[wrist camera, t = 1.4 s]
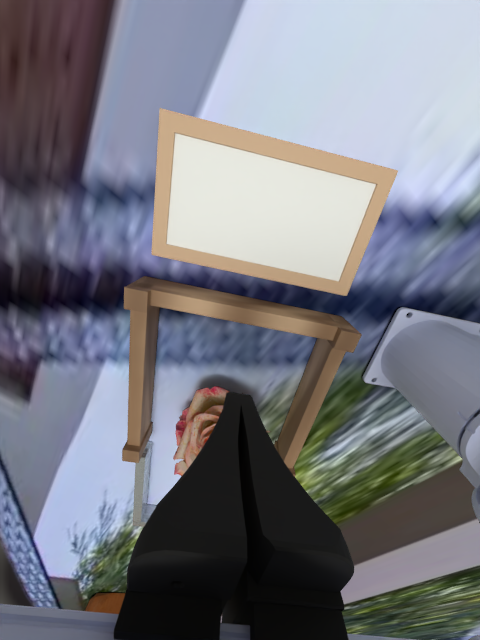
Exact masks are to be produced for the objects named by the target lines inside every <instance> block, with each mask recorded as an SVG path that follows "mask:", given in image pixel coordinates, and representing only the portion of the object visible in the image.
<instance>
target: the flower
mask: <svg viewBox="0 0 480 640" xmlns="http://www.w3.org/2000/svg"><path fill="white" fill-rule="evenodd" d="M228 392H229V391H228V390H226V389H223V388H221V387H218V386H215V387H213V388H211V389H209V388H204V389H203V388H202V389H199V390H197V391H196V393H195V395H194V398H193V400H192V403H191V405H190V407H188V408H186V409H185V410H183V412H182V416H180V417H179V418H180V421H179V422H178V423H177V424H176V438H177V446H178V449H177V451H178V452H177V451H176V453H175V455H174V458H173V459H174V460H175V459H184V460H183V461H180V462H179V463H176V465H175V473H174V475H175V474H179V475H181V476H182V475H183V474H184V473H185V472H186V470H187V469H188V468H189V467H190V465H191V464H192V462H193V461H194V460H195V458H196V457H197V455H198V454H199V452H200V451H201V449H202V448H203V446H204V445H205V443H206V441H207V440H208V438H209V436H210V434H211V433H212V431H213V429H214V427H215V425H216V423H217V421H218V419H219V416H220V414H221V412H222V409H223V405H224V401H225V397H226V393H228ZM242 394H243V393H242ZM268 432H271V431H267V433H268Z"/></svg>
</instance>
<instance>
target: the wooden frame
mask: <svg viewBox="0 0 480 640" xmlns="http://www.w3.org/2000/svg"><path fill="white" fill-rule="evenodd" d="M160 307H162V308H167V309H172V310H177V311H182V312H188V313H193V314H198V315H203V316H208V317H213V318H218V319H223V320H229V321H234V322H239V323H244V324H249V325H254V326H259V327H265V328H270V329H275V330H280V331H285V332H290V333H295V334H300V335H306V336H311V337H316V338H317V340H316V343H315V346H314V348H313V351H312V353H311V356H310V358H309V361H308V364H307V366H306V369H305V371H304V374H303V376H302V379H301V382H300V384H299V387H298V389H297V392H296V394H295V397H294V400H293V402H292V405H291V407H290V410H289V412H288V415H287V418H286V420H285V423H284V425H283V428H282V430H281V433H280V436H279V438H278V441H275V444H274V446H275V448H276V450H277V451H278V453H279V455H280V456H281V458H282V459H283V461H284V463H285V464H286V466H287V467H288V468H289V470H290V471H291V473H292V474H293V476H294V477H295V470H294V464H295V462H296V460H297V458H298V455H299V453H300V451H301V449H302V447H303V444H304V442H305V440H306V438H307V436H308V434H309V431H310V429H311V427H312V425H313V423H314V420H315V418H316V416H317V414H318V412H319V409H320V407H321V405H322V403H323V401H324V398H325V396H326V394H327V392H328V390H329V388H330V385H331V383H332V381H333V379H334V377H335V374H336V372H337V370H338V368H339V366H340V363H341V361H342V359H343V357H344V355H345V352H346V351H347V352H352V353H353V352H354V350H355V348H356V346H357V344H358V341H359V339H360V337H361V335H362V334H360V333H359V332H358V331H357V330H356V329H355V328H354V327H353V326H352V325H351V324H350V323H348V322H347V321H346V320H345V319H344V318H343V317H342V316H337V315H332V314H327V313H323V312H318V311H313V310H308V309H303V308H298V307H293V306H288V305H283V304H278V303H274V302H269V301H264V300H259V299H254V298H249V297H244V296H239V295H234V294H230V293H225V292H220V291H215V290H210V289H205V288H200V287H195V286H190V285H186V284H181V283H176V282H171V281H166V280H161V279H156V278H151V277H146V276H144V277H142V278H140V279H139V280H137V281H135V282H133V283H131V284H129V285H128V286H126V287H124V309H128V310H131V313H130V356H129V400H128V440H127V442H126V444H125V446H124V448H123V450H122V461H128V462H135V463H139V461H140V459H141V457H142V454H143V452H144V450H145V447H146V445H147V443H148V440H149V438H150V436H151V433H152V424H153V422H151V413H152V400H153V387H154V374H155V361H156V348H157V335H158V321H159V308H160Z"/></svg>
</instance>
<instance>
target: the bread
mask: <svg viewBox="0 0 480 640" xmlns="http://www.w3.org/2000/svg"><path fill="white" fill-rule="evenodd" d="M124 596H125V593H97V594H96V595H95V596H94V597H92V598H91V599H90V600H89V603H88V605H87V607H86V610H85V611H87V612H99V613H111V614H119V612H120V609H121V606H122V603H123V599H124Z"/></svg>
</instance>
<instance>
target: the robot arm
mask: <svg viewBox="0 0 480 640" xmlns="http://www.w3.org/2000/svg"><path fill="white" fill-rule="evenodd" d="M409 312H410V313H409ZM408 313H409V315H408V316H406V315H407V314H408ZM362 378H363V380H364V381H365V382H366V383H370V384H375V385H381V386H386V387H392V388H396V389H397V390H398V391H399V392H400V393H401V394H402V395H403V396H404V397H405V398H406V399H407V400H408V402H409V403H410V404H411V405H412V406H413V407H414V408H415V409H416V410H417V411H418V412H419V413H420V414H421V415H422V416H423V417H424V419H425V420H426V421H427V422H428V423H429V424H430V425H431V426H432V427H433V428H434V429H435V430H436V431H437V432H438V433H439V434H440V435H441V437H442V438H443V439H444V440H445V441H446V442H447V443H448V444H449V445H450V446H451V447H452V448H453V449H454V450H455V451H456V452H457V453H458V455H459V456H460V457H461V458H462V459H463V464H462V466H461V468H460V471H461V472H462V473H463V475H464V476H465V477H466V478H467V479H468V480H469V481H470V482H471V484H472V485H473V486H474V487H475V489H474V491H473V494H472V505H473V509H474V512H475V514H476V516H477V518H478V521H479V523H480V323H476V322H471V321H466V320H462V319H457V318H452V317H447V316H443V315H438V314H433V313H429V312H424V311H419V310H415V309H410V308H405V307H401V308H399V309H398V310H397V311H396V313H395V315H394V317H393V319H392V320H391V322H390V324H389V326H388V328H387V330H386V332H385V334H384V336H383V338H382V340H381V342H380V344H379V346H378V348H377V350H376V352H375V353H374V355H373V357H372V359H371V361H370V363H369V365H368V367H367V369H366V371H365V373H364V375H363V377H362ZM373 378H374V379H373ZM372 379H373V380H372ZM353 573H354V565H353V562H352V559H351V556H350V553H349V550H348V547H347V545H346V542H345V540H344V537H343V535H342V533H341V530H340V529H339V528H338V527H337V525H336V524H335V523H334V522H333V521H332V520H331V519H330V518H329V517H328V516H327V515H326V514H325V513H324V512H323V511H322V510H321V509H320V508H319V506H318V505H317V504H316V503H315V502H314V501H313V500H312V498H311V497H310V496H309V495H308V494H307V492H306V491H305V490H304V489H303V487H302V486H301V485H300V483H299V482H298V481H297V479H296V478H295V477H294V476H293V474H292V473H291V471H290V470H289V468H288V467H287V466H286V464H285V463H284V461H283V459H282V458H281V456H280V455H279V453H278V451H277V450H276V448H275V446H274V444H273V443H272V441H271V439H270V437H269V435H268V433H267V431H266V429H265V427H264V425H263V423H262V421H261V419H260V416H259V414H258V412H257V409H256V407H255V404H254V401H253V398H252V397H251V395H245V394H239V393H233V392H228V393H226V397H225V401H224V405H223V409H222V412H221V414H220V416H219V419H218V421H217V423H216V425H215V427H214V429H213V431H212V433H211V434H210V436H209V438H208V440H207V441H206V443H205V445H204V446H203V448H202V449H201V451H200V452H199V454H198V455H197V457H196V458H195V460H194V461H193V462H192V464H191V465H190V467H189V468H188V469H187V470H186V472H185V473H184V474H183V475H182V477H181V478H180V479H179V481H178V482H177V483H176V484H175V485H174V487H173V488H172V489H171V490H170V491H169V492H168V493H167V494H166V496H165V497H164V498H163V499H162V500H161V501H160V502H159V503H158V505H157V506H156V508H155V510H154V511H153V513H152V514H151V516H150V518H149V519H148V521H147V523H146V524H145V526H144V528H143V530H142V531H141V533H140V535H139V537H138V540H137V542H136V544H135V547H134V550H133V553H132V556H131V559H130V563H129V566H128V569H127V590H126V593H125V596H124V599H123V603H122V606H121V609H120V612H119V614H111V613H99V612H87V611H76V610H64V609H52V608H41V607H29V606H17V605H5V604H0V640H415V639H403V638H391V637H379V636H368V635H356V634H347V631H346V627H345V623H344V619H343V616H342V612H341V611H343V610H344V603H343V600H342V596H341V592H340V591H341V590H342V589H343V587H344V586H345V585H346V584H347V583H348V582H349V580H350V579H351V577H352V576H353ZM222 612H223V615H222V623H220V621H221V614H222ZM469 640H480V635H477V636H474V637H472V638H470V639H469Z"/></svg>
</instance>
